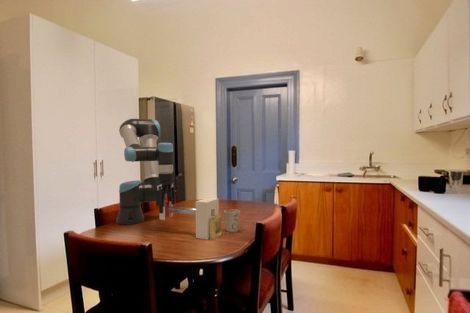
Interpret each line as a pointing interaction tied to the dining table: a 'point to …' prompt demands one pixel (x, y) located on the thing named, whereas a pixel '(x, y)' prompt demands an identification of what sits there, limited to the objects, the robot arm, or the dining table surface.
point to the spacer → (212, 227)
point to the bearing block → (206, 216)
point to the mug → (232, 219)
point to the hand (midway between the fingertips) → (166, 218)
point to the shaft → (177, 209)
